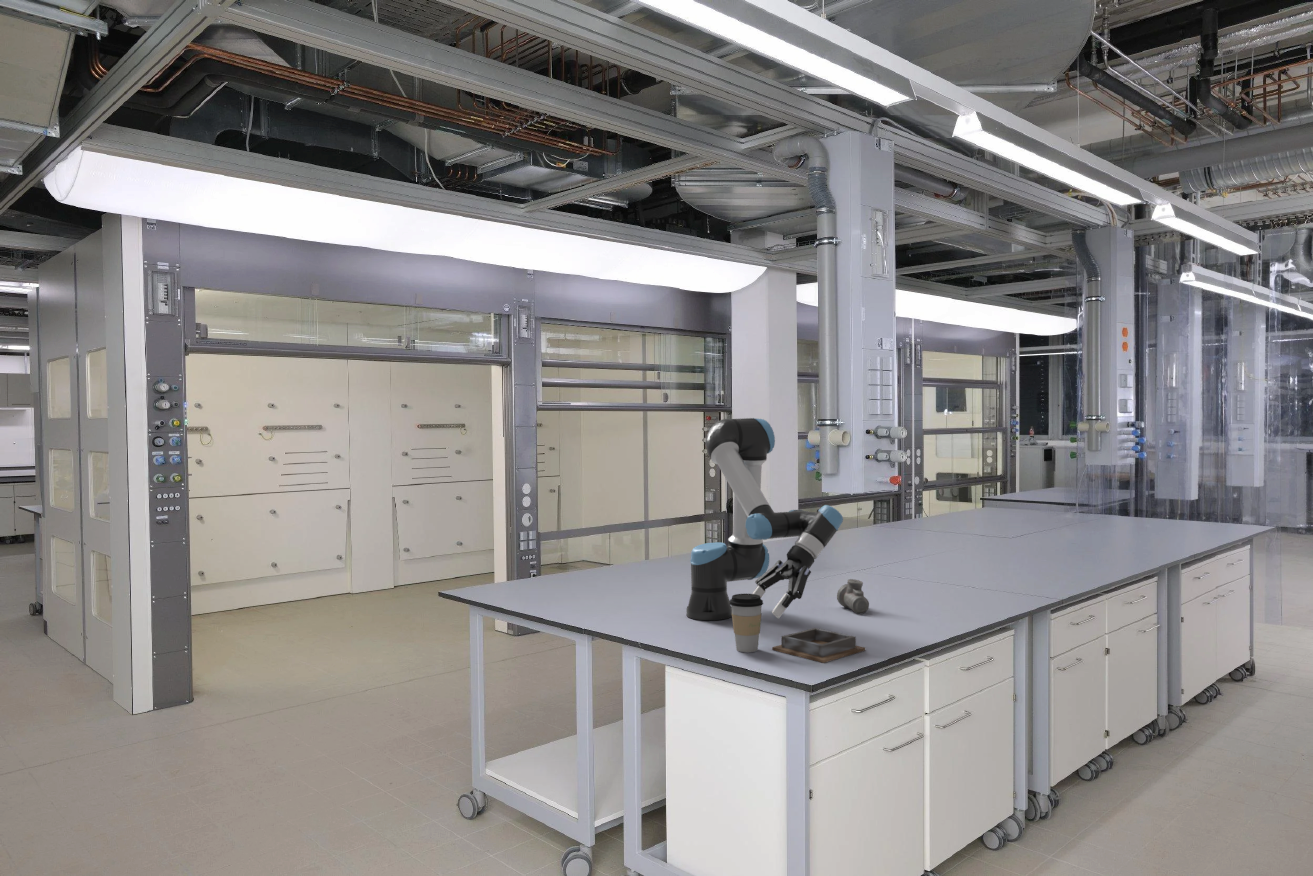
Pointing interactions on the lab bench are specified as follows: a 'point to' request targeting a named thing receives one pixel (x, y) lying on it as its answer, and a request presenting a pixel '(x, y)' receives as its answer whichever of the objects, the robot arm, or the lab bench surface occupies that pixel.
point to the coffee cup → (746, 621)
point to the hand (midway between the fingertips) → (761, 611)
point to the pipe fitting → (853, 596)
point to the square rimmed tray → (818, 645)
